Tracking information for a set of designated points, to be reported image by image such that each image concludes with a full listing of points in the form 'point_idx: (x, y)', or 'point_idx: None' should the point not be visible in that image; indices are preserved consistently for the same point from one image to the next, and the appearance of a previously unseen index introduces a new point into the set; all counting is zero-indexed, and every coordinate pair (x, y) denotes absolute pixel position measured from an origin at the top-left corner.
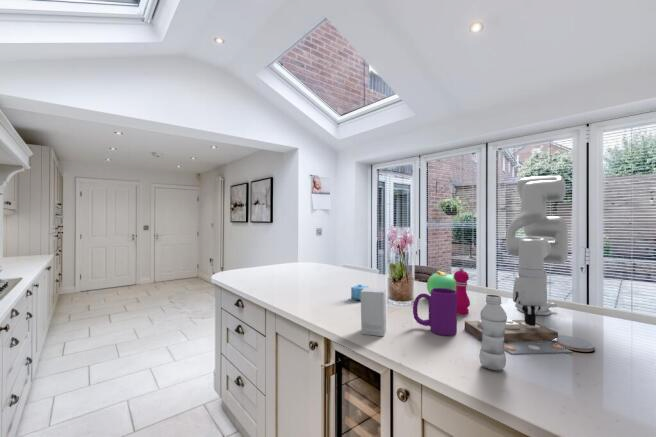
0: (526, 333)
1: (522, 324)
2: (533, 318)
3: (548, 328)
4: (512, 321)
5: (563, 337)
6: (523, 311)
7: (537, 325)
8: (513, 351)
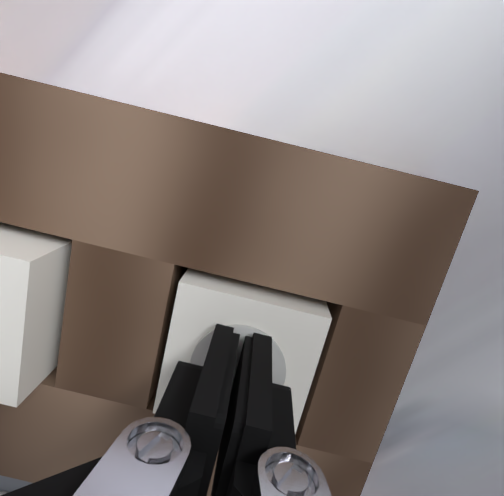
0: (20, 476)
1: (173, 318)
2: (211, 491)
3: (358, 469)
4: (7, 314)
5: (459, 451)
6: (131, 432)
7: (295, 413)
8: None
